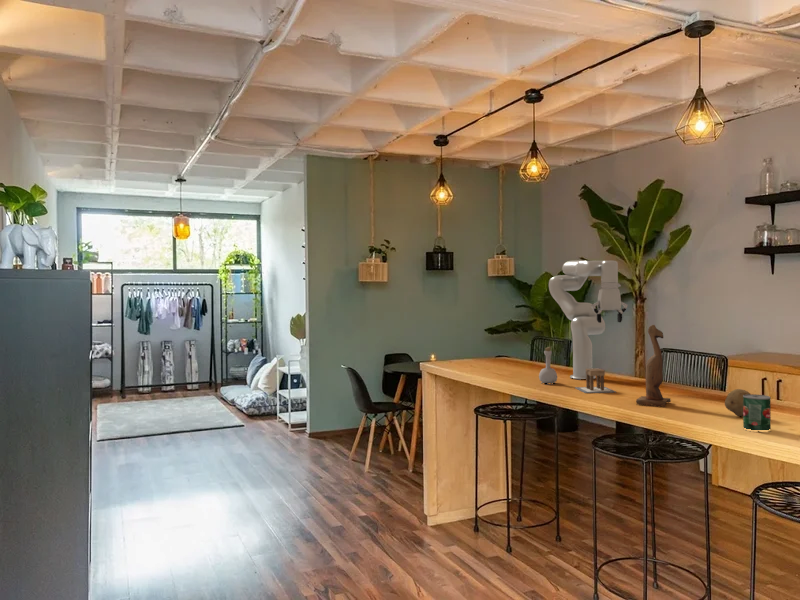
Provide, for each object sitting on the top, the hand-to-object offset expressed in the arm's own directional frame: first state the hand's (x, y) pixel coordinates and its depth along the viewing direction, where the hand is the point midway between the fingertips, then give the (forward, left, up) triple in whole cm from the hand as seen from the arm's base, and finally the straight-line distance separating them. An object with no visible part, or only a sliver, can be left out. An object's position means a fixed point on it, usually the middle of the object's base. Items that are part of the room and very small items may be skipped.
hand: (609, 322), depth 303 cm
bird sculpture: (+50, -1, -30) cm, 58 cm away
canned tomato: (+97, +12, -30) cm, 102 cm away
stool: (+15, -12, -30) cm, 35 cm away
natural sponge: (+77, +18, -30) cm, 84 cm away
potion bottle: (-8, -27, -30) cm, 42 cm away
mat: (+15, -12, -30) cm, 36 cm away
